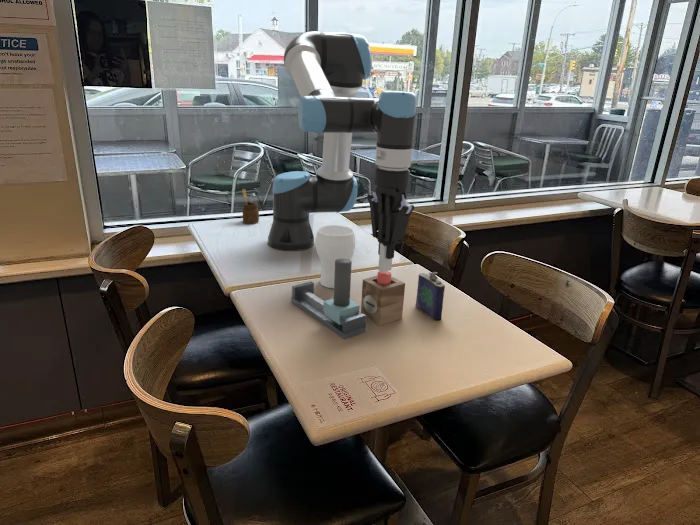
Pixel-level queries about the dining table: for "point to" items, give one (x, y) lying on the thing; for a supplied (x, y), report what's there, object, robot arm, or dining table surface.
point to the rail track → (314, 307)
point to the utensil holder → (250, 211)
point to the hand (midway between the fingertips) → (384, 270)
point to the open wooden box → (382, 300)
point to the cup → (333, 249)
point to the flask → (430, 295)
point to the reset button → (384, 278)
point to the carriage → (341, 294)
